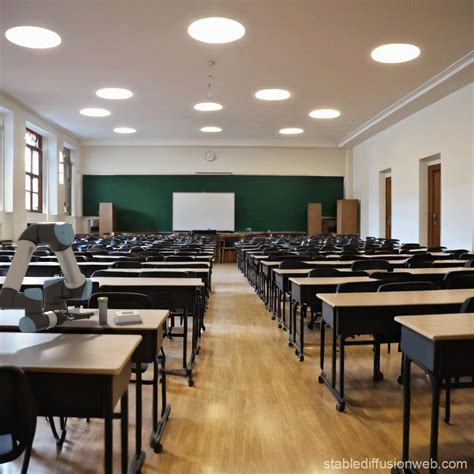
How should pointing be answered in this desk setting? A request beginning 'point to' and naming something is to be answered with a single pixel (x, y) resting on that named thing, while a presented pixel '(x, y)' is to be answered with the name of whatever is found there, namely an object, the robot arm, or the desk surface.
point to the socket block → (127, 317)
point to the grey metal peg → (102, 310)
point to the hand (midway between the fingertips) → (88, 311)
